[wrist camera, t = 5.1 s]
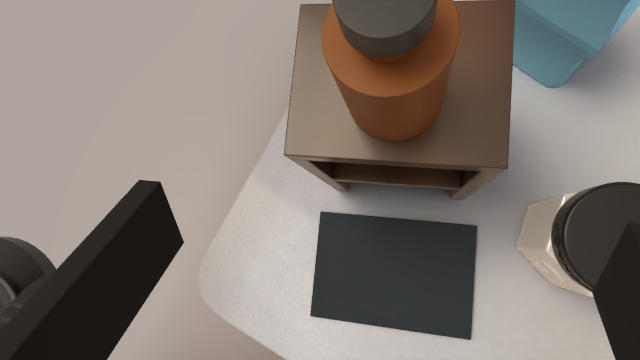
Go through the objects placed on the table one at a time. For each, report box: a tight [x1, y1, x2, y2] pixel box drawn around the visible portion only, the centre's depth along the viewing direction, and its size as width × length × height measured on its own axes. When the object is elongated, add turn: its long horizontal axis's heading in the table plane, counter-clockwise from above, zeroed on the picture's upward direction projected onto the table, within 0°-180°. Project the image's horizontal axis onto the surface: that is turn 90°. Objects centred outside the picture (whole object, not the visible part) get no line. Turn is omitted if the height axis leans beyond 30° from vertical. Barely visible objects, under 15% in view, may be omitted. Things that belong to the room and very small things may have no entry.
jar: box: [516, 182, 640, 298], centre depth 34 cm, size 9×8×12 cm
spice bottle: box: [322, 0, 460, 141], centre depth 19 cm, size 6×6×11 cm
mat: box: [311, 212, 477, 340], centre depth 42 cm, size 16×11×1 cm
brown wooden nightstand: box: [284, 0, 516, 200], centre depth 34 cm, size 13×10×20 cm
